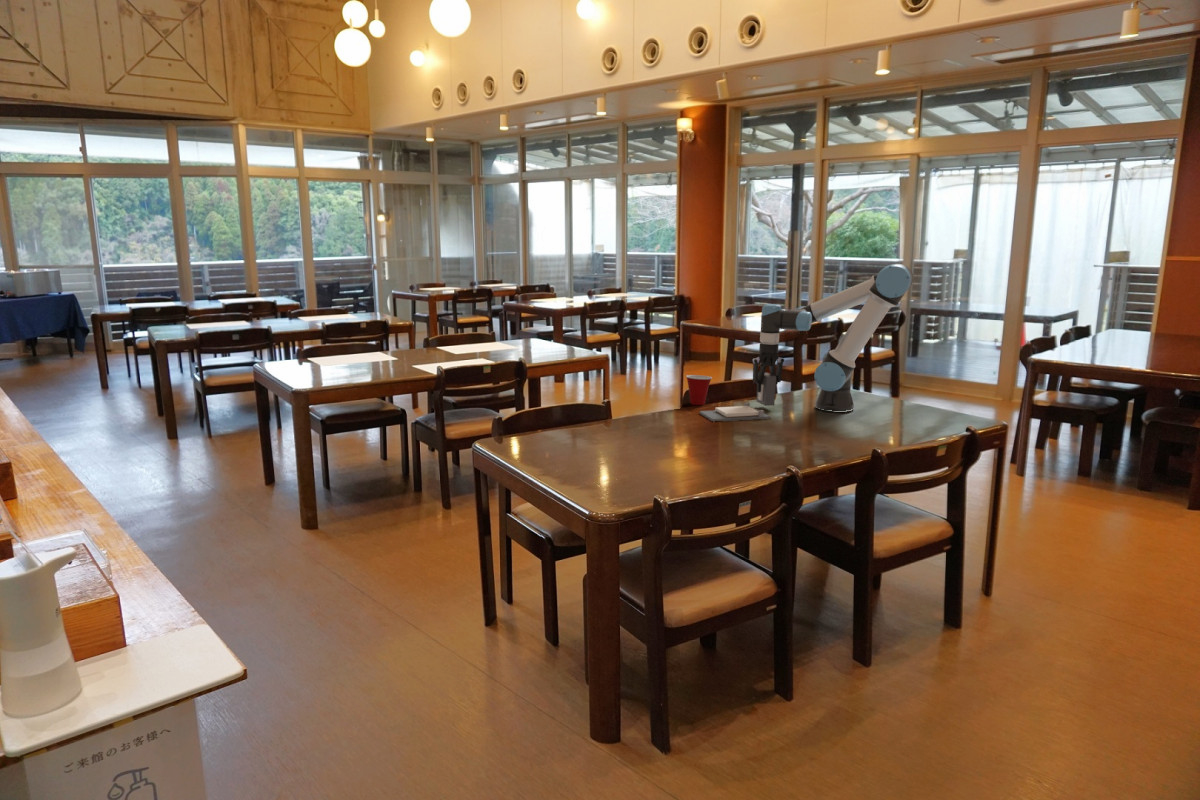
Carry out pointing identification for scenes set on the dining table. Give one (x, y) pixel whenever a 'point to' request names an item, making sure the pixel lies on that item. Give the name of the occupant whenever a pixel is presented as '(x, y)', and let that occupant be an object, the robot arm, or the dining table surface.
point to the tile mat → (719, 417)
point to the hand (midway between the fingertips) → (765, 399)
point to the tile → (737, 411)
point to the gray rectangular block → (768, 389)
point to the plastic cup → (698, 388)
